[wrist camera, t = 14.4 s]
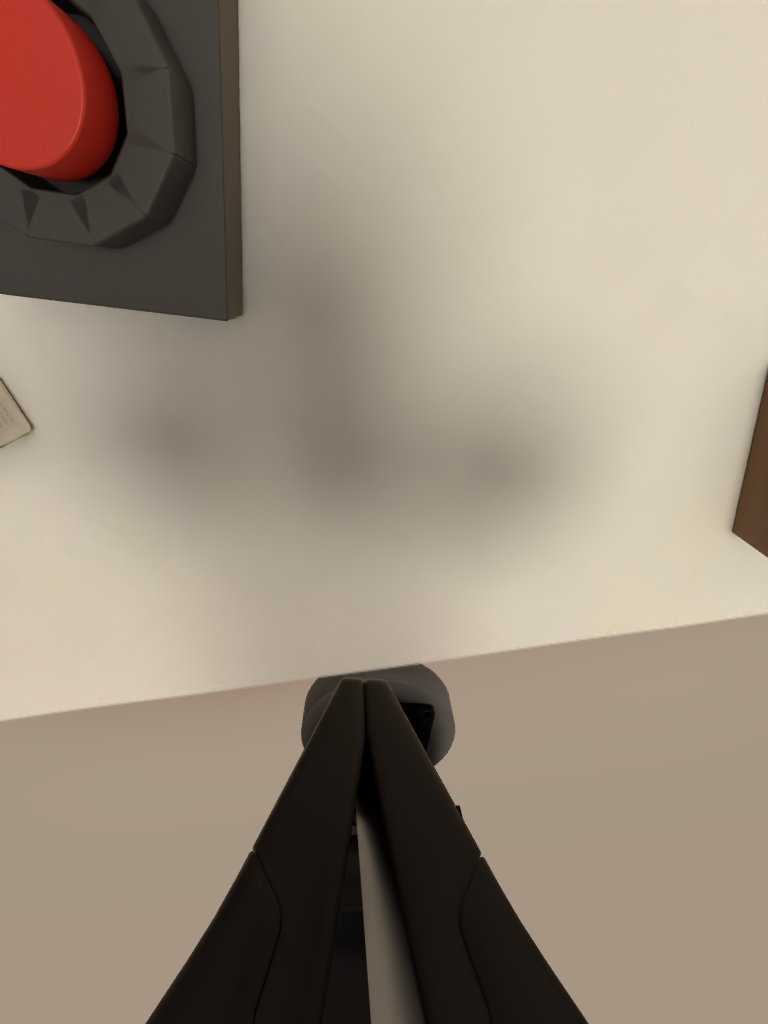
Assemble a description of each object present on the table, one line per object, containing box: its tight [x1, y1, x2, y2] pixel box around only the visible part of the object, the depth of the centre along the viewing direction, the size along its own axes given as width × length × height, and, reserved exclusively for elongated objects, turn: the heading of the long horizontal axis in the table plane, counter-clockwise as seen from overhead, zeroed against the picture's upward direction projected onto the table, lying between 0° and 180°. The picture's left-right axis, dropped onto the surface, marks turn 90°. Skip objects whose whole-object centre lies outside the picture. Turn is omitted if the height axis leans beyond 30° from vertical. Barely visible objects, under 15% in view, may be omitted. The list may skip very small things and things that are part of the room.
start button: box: [0, 0, 119, 182], centre depth 11 cm, size 4×4×2 cm
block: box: [0, 0, 242, 321], centre depth 13 cm, size 10×8×4 cm
